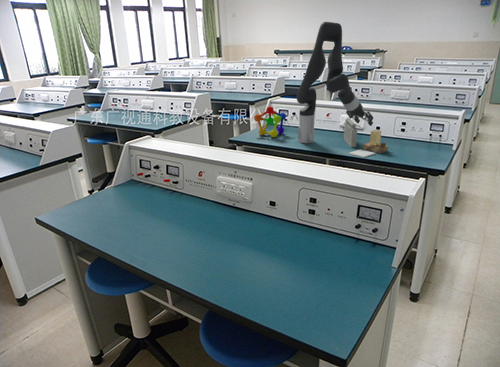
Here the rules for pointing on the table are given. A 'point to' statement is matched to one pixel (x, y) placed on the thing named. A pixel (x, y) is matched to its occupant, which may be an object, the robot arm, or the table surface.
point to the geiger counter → (350, 132)
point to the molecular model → (271, 122)
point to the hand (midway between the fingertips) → (365, 123)
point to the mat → (361, 153)
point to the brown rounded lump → (376, 148)
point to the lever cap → (375, 138)
